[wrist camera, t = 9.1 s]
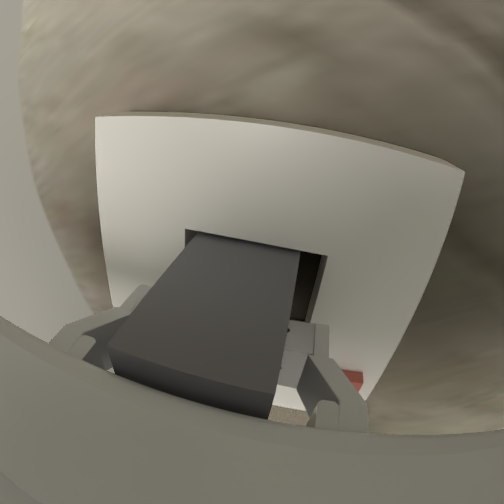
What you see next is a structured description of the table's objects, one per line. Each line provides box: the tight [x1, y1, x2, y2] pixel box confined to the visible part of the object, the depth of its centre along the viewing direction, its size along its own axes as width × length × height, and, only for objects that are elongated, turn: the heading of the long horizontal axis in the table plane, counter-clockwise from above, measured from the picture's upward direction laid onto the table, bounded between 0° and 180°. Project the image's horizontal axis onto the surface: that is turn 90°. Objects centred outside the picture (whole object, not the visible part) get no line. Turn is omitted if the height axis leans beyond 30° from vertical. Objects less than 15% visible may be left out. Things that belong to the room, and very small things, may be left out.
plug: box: [106, 231, 301, 420], centre depth 10 cm, size 4×4×7 cm
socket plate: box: [95, 112, 465, 411], centre depth 14 cm, size 14×14×3 cm
